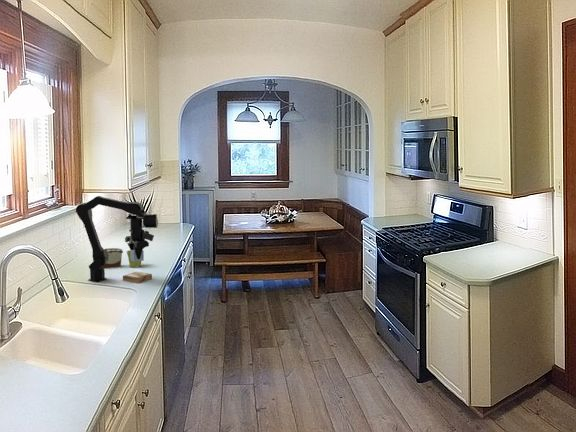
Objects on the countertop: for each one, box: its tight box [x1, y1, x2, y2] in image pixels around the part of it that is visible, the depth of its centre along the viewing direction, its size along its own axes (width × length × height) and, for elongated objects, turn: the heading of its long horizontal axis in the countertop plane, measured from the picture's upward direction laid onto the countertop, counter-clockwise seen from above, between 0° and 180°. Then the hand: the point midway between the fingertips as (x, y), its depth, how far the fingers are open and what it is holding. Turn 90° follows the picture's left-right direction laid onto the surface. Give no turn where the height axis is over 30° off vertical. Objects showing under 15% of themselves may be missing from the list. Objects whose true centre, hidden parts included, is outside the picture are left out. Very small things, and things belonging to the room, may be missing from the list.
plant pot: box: [125, 250, 142, 268], centre depth 286 cm, size 9×9×9 cm
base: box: [122, 271, 153, 284], centre depth 258 cm, size 10×10×3 cm
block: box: [130, 250, 145, 262], centre depth 257 cm, size 5×5×5 cm
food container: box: [103, 247, 124, 269], centre depth 284 cm, size 12×6×10 cm, turn 116°
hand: (136, 258), depth 257 cm, fingers closed on block, 5 cm apart
